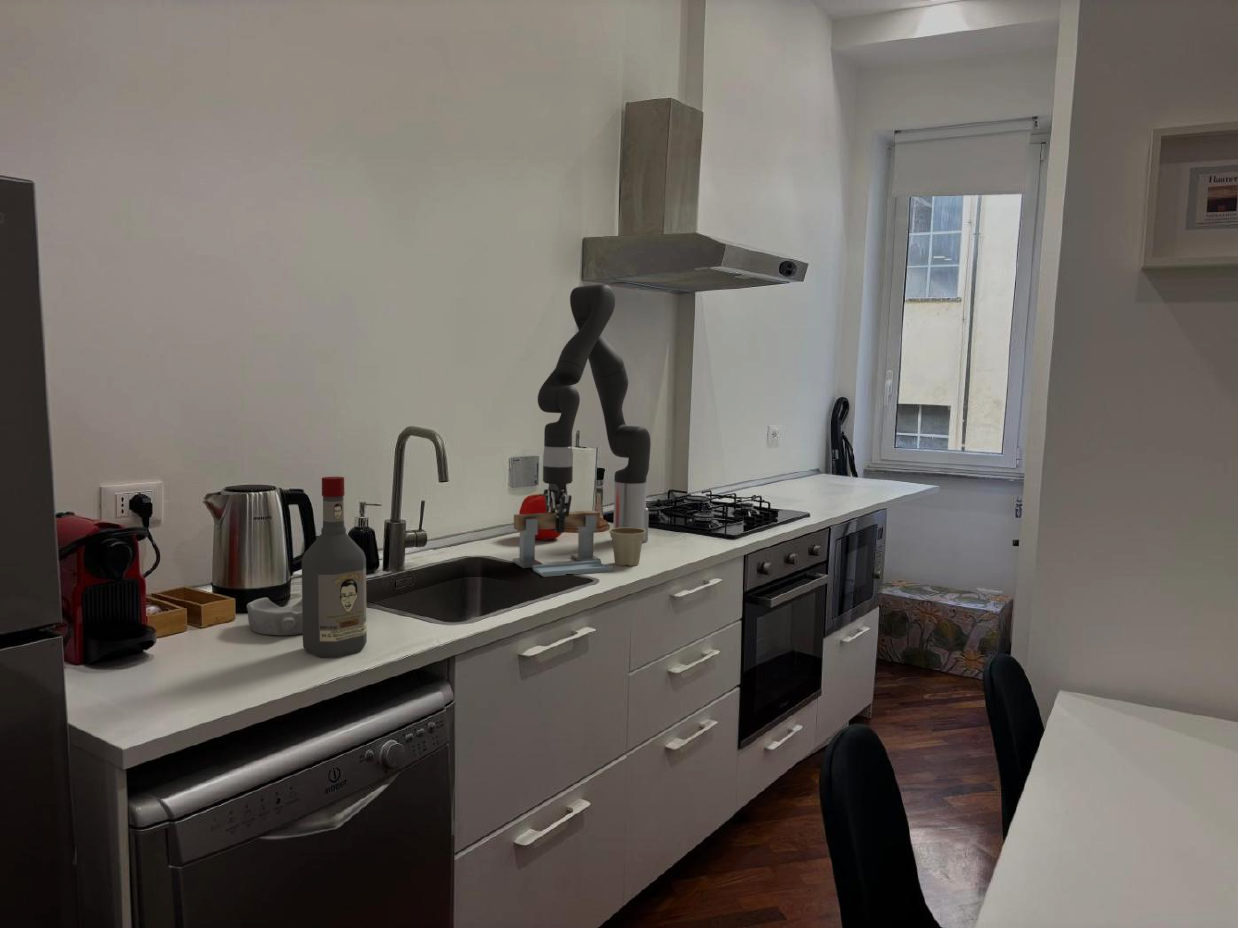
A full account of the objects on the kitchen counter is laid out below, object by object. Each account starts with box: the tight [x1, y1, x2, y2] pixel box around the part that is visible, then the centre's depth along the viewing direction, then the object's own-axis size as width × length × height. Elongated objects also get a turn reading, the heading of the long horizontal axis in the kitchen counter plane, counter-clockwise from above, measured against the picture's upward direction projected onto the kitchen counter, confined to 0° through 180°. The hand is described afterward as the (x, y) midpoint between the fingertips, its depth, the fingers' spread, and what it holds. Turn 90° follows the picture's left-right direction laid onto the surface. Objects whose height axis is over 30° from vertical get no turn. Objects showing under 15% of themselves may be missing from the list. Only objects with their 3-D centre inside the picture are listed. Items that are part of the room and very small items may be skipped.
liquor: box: [301, 476, 368, 659], centre depth 158 cm, size 9×9×30 cm
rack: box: [512, 515, 602, 569], centre depth 234 cm, size 21×8×12 cm, turn 115°
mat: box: [532, 559, 614, 578], centre depth 225 cm, size 18×8×1 cm, turn 115°
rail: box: [513, 510, 601, 532], centre depth 234 cm, size 22×4×4 cm, turn 115°
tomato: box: [518, 492, 563, 541], centre depth 266 cm, size 16×14×14 cm
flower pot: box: [608, 527, 646, 567], centre depth 234 cm, size 9×9×9 cm
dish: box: [246, 597, 303, 636], centre depth 172 cm, size 14×14×5 cm
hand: (557, 530), depth 234 cm, fingers closed on rail, 3 cm apart
